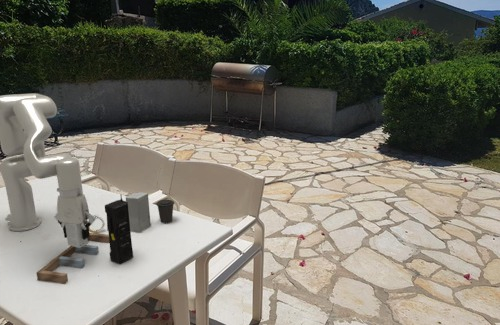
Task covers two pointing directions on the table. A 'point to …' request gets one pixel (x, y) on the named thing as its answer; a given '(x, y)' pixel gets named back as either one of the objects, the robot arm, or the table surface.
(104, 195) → the table surface
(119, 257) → the portable radio
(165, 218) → the coffee cup
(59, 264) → the slot rack
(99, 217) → the ring
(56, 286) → the table surface
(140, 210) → the skincare box
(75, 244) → the skincare box
